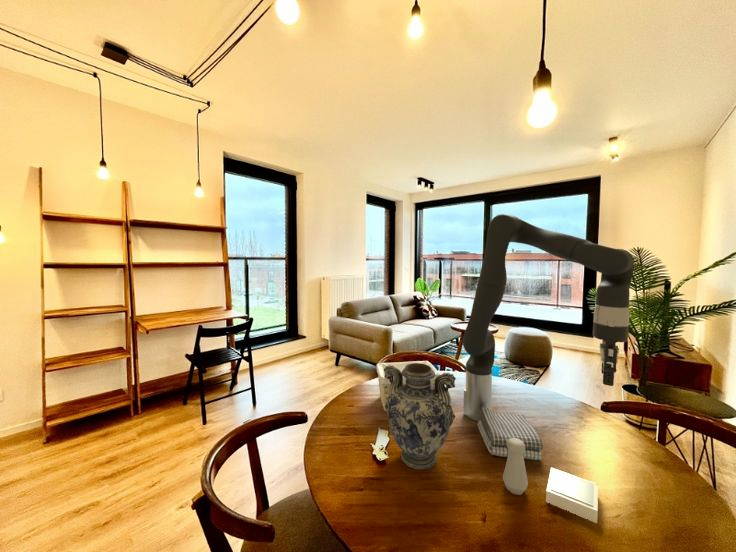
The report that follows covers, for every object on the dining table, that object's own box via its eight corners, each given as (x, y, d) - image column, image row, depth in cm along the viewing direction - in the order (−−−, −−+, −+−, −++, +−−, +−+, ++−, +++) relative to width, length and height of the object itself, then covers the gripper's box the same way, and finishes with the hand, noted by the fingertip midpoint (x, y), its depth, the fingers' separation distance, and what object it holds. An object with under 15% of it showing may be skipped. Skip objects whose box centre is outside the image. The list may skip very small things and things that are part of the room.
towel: (490, 460, 90) (491, 434, 89) (476, 425, 108) (476, 404, 107) (544, 463, 88) (545, 438, 87) (520, 428, 106) (521, 406, 105)
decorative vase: (457, 445, 96) (457, 360, 94) (453, 488, 78) (453, 385, 76) (392, 433, 103) (390, 354, 101) (375, 471, 85) (373, 376, 83)
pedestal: (546, 502, 74) (546, 489, 74) (550, 477, 82) (551, 466, 81) (597, 523, 68) (597, 510, 67) (597, 495, 76) (597, 483, 75)
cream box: (381, 414, 116) (381, 377, 115) (375, 395, 132) (375, 362, 131) (441, 410, 118) (441, 374, 117) (428, 392, 134) (429, 359, 133)
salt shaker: (530, 499, 75) (532, 449, 74) (506, 496, 76) (507, 446, 75) (523, 482, 80) (524, 435, 79) (500, 479, 81) (501, 433, 81)
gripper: (593, 315, 90) (589, 368, 91) (594, 325, 78) (590, 385, 80) (625, 319, 85) (622, 374, 87) (632, 329, 74) (627, 392, 75)
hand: (606, 379), depth 83 cm, fingers open, 8 cm apart
